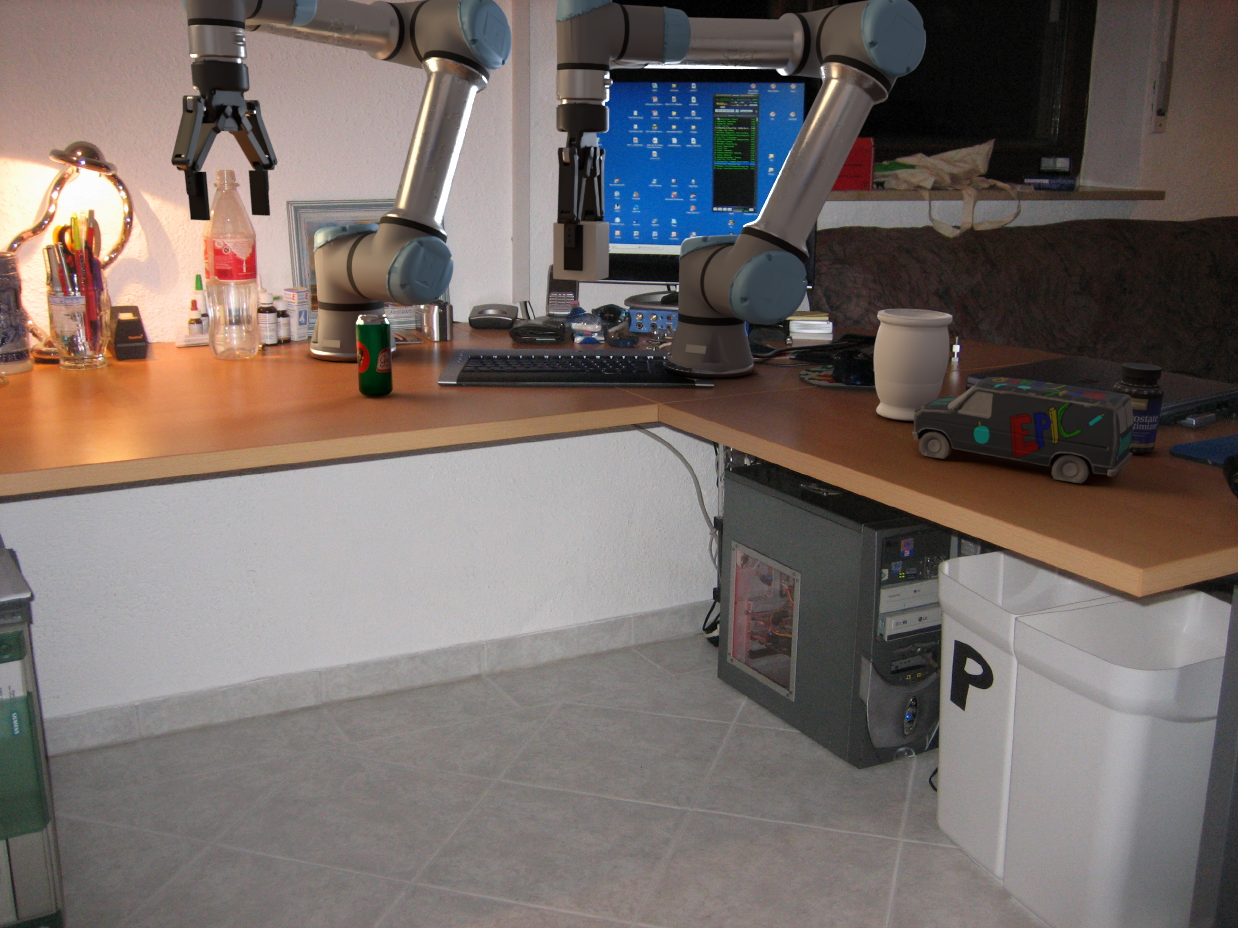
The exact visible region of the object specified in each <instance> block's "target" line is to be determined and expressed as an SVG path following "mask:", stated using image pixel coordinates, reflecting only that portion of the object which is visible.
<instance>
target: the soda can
mask: <svg viewBox="0 0 1238 928" xmlns="http://www.w3.org/2000/svg"><path fill="white" fill-rule="evenodd" d="M385 314H386V313H385ZM385 314H362V315H358V320H357V322H356V341H357V361H356V362H357V377H358V379H357V380H358V391H359V393H360V394H361V395H363V396H365V397H372V398H376V397H377V398H378V397H385V396H388V395H390V394H392V392H393V391H394V383H393V382H394V381H393V362H392V361H393V359H392V357H393V356H391V332H390V328H391V322H390V320H389V318H388V315H387V314H386V315H385Z"/></svg>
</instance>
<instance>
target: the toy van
mask: <svg viewBox="0 0 1238 928" xmlns="http://www.w3.org/2000/svg"><path fill="white" fill-rule="evenodd" d="M1134 427H1135V426H1134V418H1133V410H1132V401H1131V396H1129V395H1127V394H1121V393H1115V392H1112V391H1108V390H1103V389H1102V390H1100V389H1094V388H1089V387H1081V386H1076V385H1068V384H1061V383H1054V382H1047V381H1042V380H1041V381H1040V380H1032V379H1026V378H1025V379H1024V378H1016V377H1015V378H1014V377H1003V376H989V377H985V378H982V379H981V380H979V381H977V382H976V383H975V384H974V385H972V386H971V387H970V388H969V389H967V390H966V391H964V392H963V393H962V394H960V395H959V396H950V395H946V396H942V397H939V398H937V399H936V400H934V401H931V402H929V403H926V404H924V405H923V406H921V407H919V408H918V409H916V410H915V414H914V421H913V431H912V432H911V435H912V438H913V440H914V441H918V449H919V450H918V451H919V452H920V453H921V455H922V456H925V457H931V458H937V459H942V460H945V459H947V458H948V457H949V456H950V455H951V452H952V449H953V450H958V451H963V452H969V453H974V454H979V455H984V456H990V457H991V456H992V457H997V458H1002V459H1008V460H1013V461H1017V462H1018V461H1019V462H1024V463H1028V464H1034V465H1039V466H1043V467H1044V466H1045V467H1051V466H1052V467H1051V476H1052V479H1053V480H1058V481H1062V482H1068V483H1074V484H1083V483H1084V482H1086V481H1087V480H1088V479H1089V475H1090V473H1091V472H1092V474H1095V475H1105V476H1107V477H1115V475H1116V474H1118V473H1119V472H1120V471H1121V470H1122V469H1123V468H1125V466H1126V464H1127V463H1129V462H1130V460H1131V458H1132V456H1133V455H1134V453H1131V452H1129V451H1130V448H1131V441H1132V436H1133V430H1134ZM1090 471H1091V472H1090Z"/></svg>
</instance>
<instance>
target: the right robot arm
mask: <svg viewBox="0 0 1238 928" xmlns="http://www.w3.org/2000/svg"><path fill="white" fill-rule="evenodd" d="M556 1H557V2H556V15H555V24H556V27H555V28H556V71H555V72H556V74H555V77H556V78H555V100H557V101H559V104H558V105H557V106H556V107H555V109H556V110H555V111H556V112H555V115H556V117H555V118H556V119H555V121H556V122H555V124H556V125H555V129H556V130H557V131H558V132H559V133H566V134H567V136H566V141H565V147H561V146H560V147H558V148H557V160H558V161H557V162H558V181H557V182H558V183H557V191H558V192H557V216H556V222H557V223H558V224H564V270H572V271H583V225H580V222H581V221H589V222H606V221H605V220H606V216H605V159H606V149H605V148H601V147H599V142H598V134H606V133H607V132H608V131H609V130H610V108H609V106H608V105H605V104H606V102H608V101H609V100H610V86H612V85H613V79H612V78H611V77H610V72H611V70H614V69H741V70H743V69H745V70H746V69H749V70H750V69H755V70H756V69H759V70H760V69H761V70H767V69H768V70H776V72H777V73H778V74H780V75H781V76H797V77H808V78H815V79H821V80H822V85H821V87H820V89H819V91H818V93H817V94H816V97H815V99H814V101H813V103H812V105H811V107H810V109H809V111H808V114H807V115H806V118H805V120H804V122H803V124H802V126H801V128H800V130H799V132H798V134H797V136H796V138H795V141H794V142H793V144H792V147H791V149H790V150H789V152H788V155H787V157H786V159H785V161H784V163H783V165H782V168H781V170H780V171H779V172H778V173H779V174H778V175H777V178H776V180H775V182H774V183H773V185H772V188H771V190H770V192H769V194H768V196H767V198H766V200H765V203H764V204H763V207H762V208H761V210H760V213H759V215H758V217H757V219H755V220H754V221H751V222H748V223H746V224H744V225H743V226H742V228H741V230H740V232H739V234H726V235H725V234H723V235H700V236H691V237H687V238H685V239H684V240H683V241H682V242H681V244H680V251H679V257H678V264H679V266H678V267H679V268H678V271H679V272H678V299H677V300H678V301H677V303H678V304H677V325H676V328H675V331H674V334H673V336H672V340H671V343H670V346H669V349H668V352H667V354H666V359H668V360H669V361H670V362H671V363H674V364H677V365H679V366H682V367H685V368H694V369H696V370H701V371H705V372H711V373H699V372H689V371H683V370H678V369H674V368H671V367H669V366H667V365H666V364H665V370H667V371H668V372H670V373H673V374H676V375H679V376H680V375H681V376H686V377H694V378H705V379H706V378H707V379H727V378H728V379H729V378H739V377H743V376H744V377H745V376H748V375H750V374H752V373H753V372H754V359H755V358H756V359H760V360H763V359H769V358H772V357H773V356H774V355H776V354H780V353H787V352H795V351H806V350H807V351H808V350H816V349H817V350H818V349H819V350H820V349H830V348H829V347H832V348H834V347H833V346H839V345H843V344H845V343H847V342H848V341H844V342H836V343H835V342H834V343H825V344H824V343H823V344H812V345H811V344H810V345H802V346H801V345H800V346H790V347H782V348H778V349H775V350H772V351H771V352H769V353H766V354H759V353H754V352H752V351H751V346H750V341H749V337H748V335H747V332H746V331H747V330H746V323H747V324H752V325H753V324H754V325H763V326H766V325H767V326H770V325H771V326H772V325H775V324H778V323H781V322H783V321H785V320H788V319H789V318H790V317H791V316H792V315H794V313H796V311H797V310H798V309H799V308H800V307H801V305H802V303H803V301H804V299H805V297H806V294H807V290H808V284H809V283H808V280H807V278H806V277H807V270H806V267H805V266H806V265H807V263H808V260H809V259H810V254H809V251H808V247H807V244H806V243H807V241H808V239H809V237H810V235H811V233H812V230H813V228H814V227H815V225H816V222H817V220H818V218H819V217H820V214H821V212H822V210H823V208H824V206H825V204H826V202H827V200H828V198H829V195H830V194H831V191H832V190H833V188H834V185H835V184H836V182H837V179H838V177H839V175H840V174H841V171H842V169H843V167H844V165H845V163H846V161H847V159H848V157H849V155H850V153H851V150H852V149H853V147H854V145H855V142H856V140H857V139H858V137H859V135H860V133H861V130H862V129H863V126H864V124H865V122H866V121H867V118H868V116H869V115H870V112H871V110H872V108H873V106H876V105H879V104H880V103H881V104H882V103H884V102H886V101H887V100H888V97H889V95H890V93H891V92H892V89H893V87H894V85H895V83H896V82H897V79H898V78H901V77H905V76H907V75H908V74H911V72H913V71H914V70H916V69H917V67H918V66H919V64H920V63H921V61H922V59H923V57H924V54H925V49H926V43H927V34H926V30H925V29H924V20H923V17H922V15H921V13H920V12H919V10H918V9H917V7H916V6H914V4H913V3H912V2H910V0H861V1H856V2H850V3H849V2H848V3H843V4H838V5H834V6H831V7H827V8H822V9H818V10H813V11H807V12H787V13H784V14H783V15H781V16H780V17H779V19H770V18H769V19H768V18H767V19H766V18H764V19H763V18H725V17H724V18H723V17H689V16H688V15H687V14H686V12H685V11H683V10H682V9H677V8H670V7H667V6H650V5H649V6H647V5H634V4H633V5H631V4H621V3H617V2H613V0H556Z"/></svg>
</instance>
